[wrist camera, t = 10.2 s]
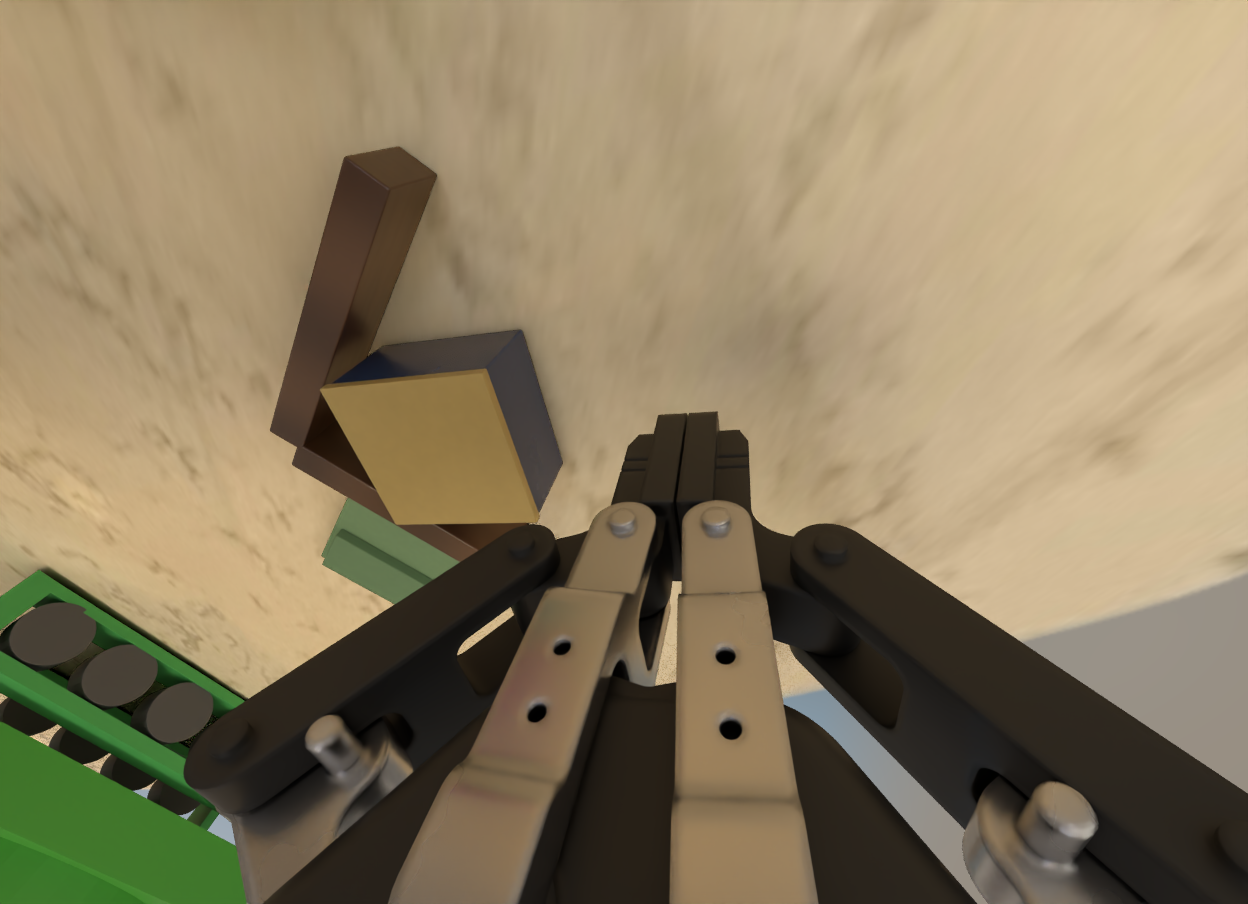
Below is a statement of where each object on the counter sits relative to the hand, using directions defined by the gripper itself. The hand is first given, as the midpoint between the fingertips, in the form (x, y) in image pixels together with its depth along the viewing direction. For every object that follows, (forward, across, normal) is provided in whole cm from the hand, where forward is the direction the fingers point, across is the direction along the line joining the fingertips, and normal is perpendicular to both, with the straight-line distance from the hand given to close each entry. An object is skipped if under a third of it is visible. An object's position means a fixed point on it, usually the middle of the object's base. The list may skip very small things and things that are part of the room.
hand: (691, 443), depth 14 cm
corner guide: (+7, +13, +2) cm, 15 cm away
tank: (+8, +56, +30) cm, 63 cm away
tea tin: (+7, +10, +2) cm, 13 cm away
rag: (+7, +17, +12) cm, 22 cm away
